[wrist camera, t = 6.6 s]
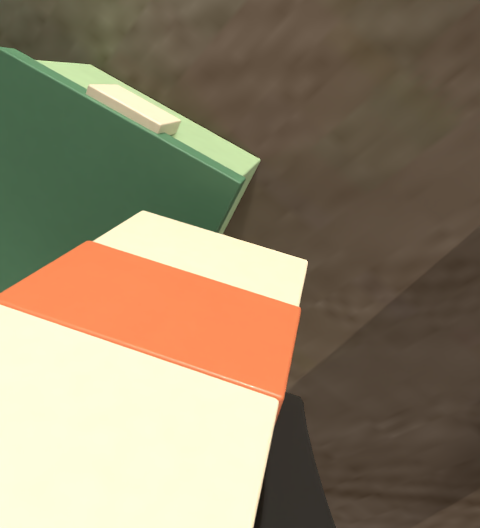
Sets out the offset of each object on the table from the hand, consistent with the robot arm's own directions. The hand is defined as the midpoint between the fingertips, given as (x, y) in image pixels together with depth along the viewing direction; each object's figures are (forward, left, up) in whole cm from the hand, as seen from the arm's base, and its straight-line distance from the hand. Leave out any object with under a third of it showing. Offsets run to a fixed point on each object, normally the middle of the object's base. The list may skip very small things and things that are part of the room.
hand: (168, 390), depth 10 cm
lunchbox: (+5, +3, -10) cm, 11 cm away
